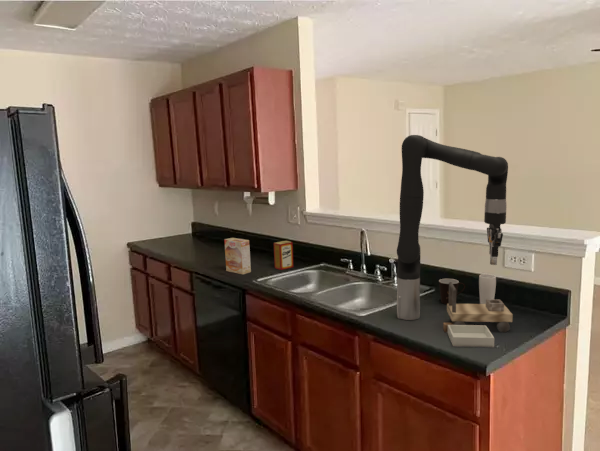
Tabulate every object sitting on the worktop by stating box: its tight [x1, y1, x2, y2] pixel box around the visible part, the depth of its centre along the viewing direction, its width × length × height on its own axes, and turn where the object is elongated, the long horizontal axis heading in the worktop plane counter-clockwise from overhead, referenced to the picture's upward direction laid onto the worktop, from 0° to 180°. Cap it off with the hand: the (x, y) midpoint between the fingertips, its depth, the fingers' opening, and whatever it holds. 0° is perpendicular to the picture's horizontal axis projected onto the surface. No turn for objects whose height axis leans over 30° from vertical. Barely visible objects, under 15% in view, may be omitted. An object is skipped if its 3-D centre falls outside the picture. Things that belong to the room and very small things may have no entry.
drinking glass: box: [478, 273, 497, 304], centre depth 207 cm, size 7×7×15 cm
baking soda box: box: [273, 240, 294, 271], centre depth 291 cm, size 10×6×16 cm
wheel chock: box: [442, 322, 454, 333], centre depth 186 cm, size 4×3×3 cm
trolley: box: [446, 282, 514, 334], centre depth 188 cm, size 22×12×17 cm, turn 82°
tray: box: [446, 324, 495, 348], centre depth 176 cm, size 14×12×4 cm
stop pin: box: [488, 237, 498, 266], centre depth 182 cm, size 4×4×10 cm
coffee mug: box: [438, 278, 466, 305], centre depth 217 cm, size 12×9×10 cm
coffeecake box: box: [223, 237, 252, 275], centre depth 286 cm, size 15×7×20 cm, turn 49°
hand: (493, 255), depth 183 cm, fingers closed on stop pin, 2 cm apart
